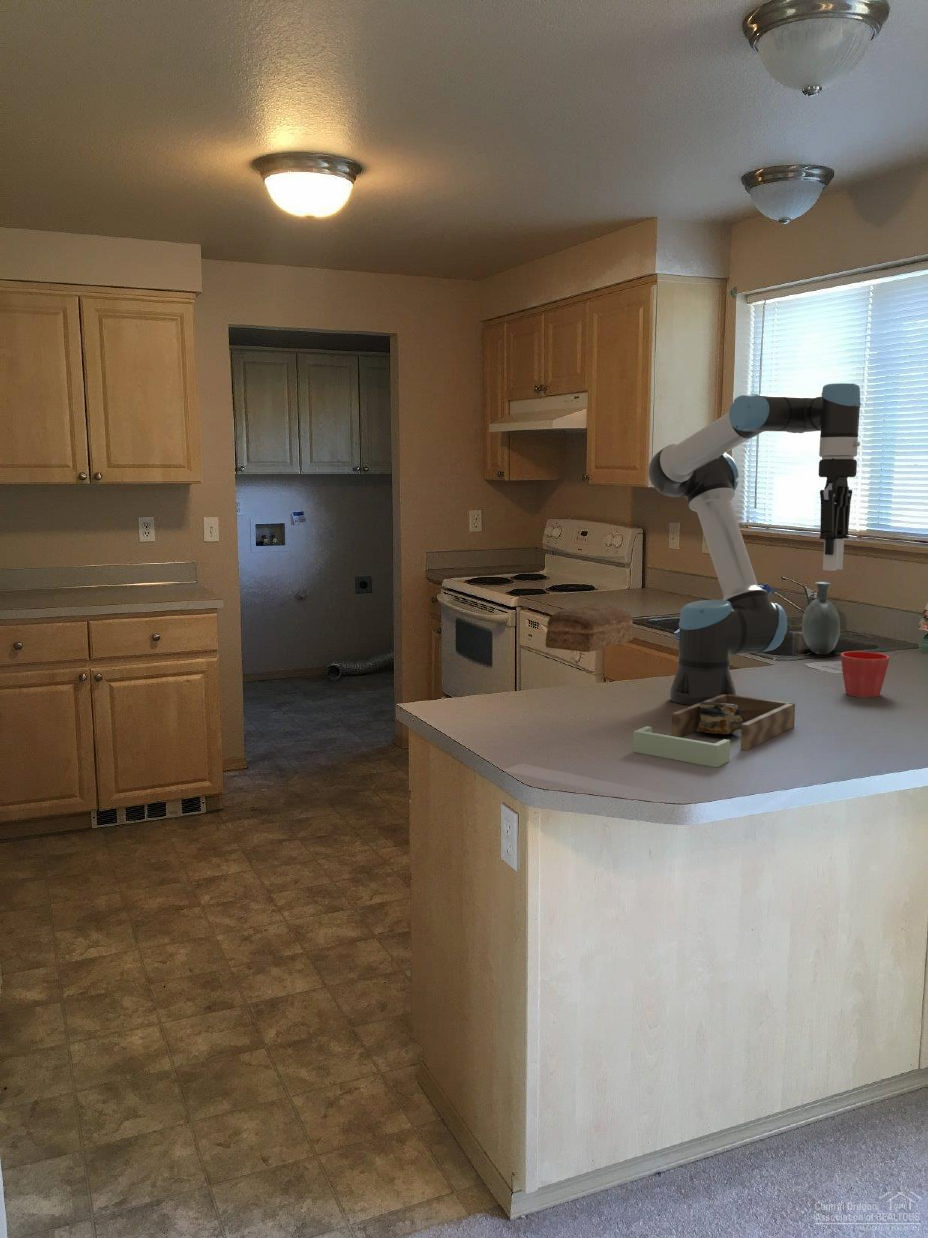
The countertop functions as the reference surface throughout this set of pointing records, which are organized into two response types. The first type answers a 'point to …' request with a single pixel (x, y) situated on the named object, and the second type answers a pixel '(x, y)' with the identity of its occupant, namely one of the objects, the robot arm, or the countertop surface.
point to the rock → (719, 718)
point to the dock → (681, 748)
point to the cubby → (759, 714)
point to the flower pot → (864, 673)
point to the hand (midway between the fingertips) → (832, 569)
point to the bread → (589, 628)
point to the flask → (821, 623)
